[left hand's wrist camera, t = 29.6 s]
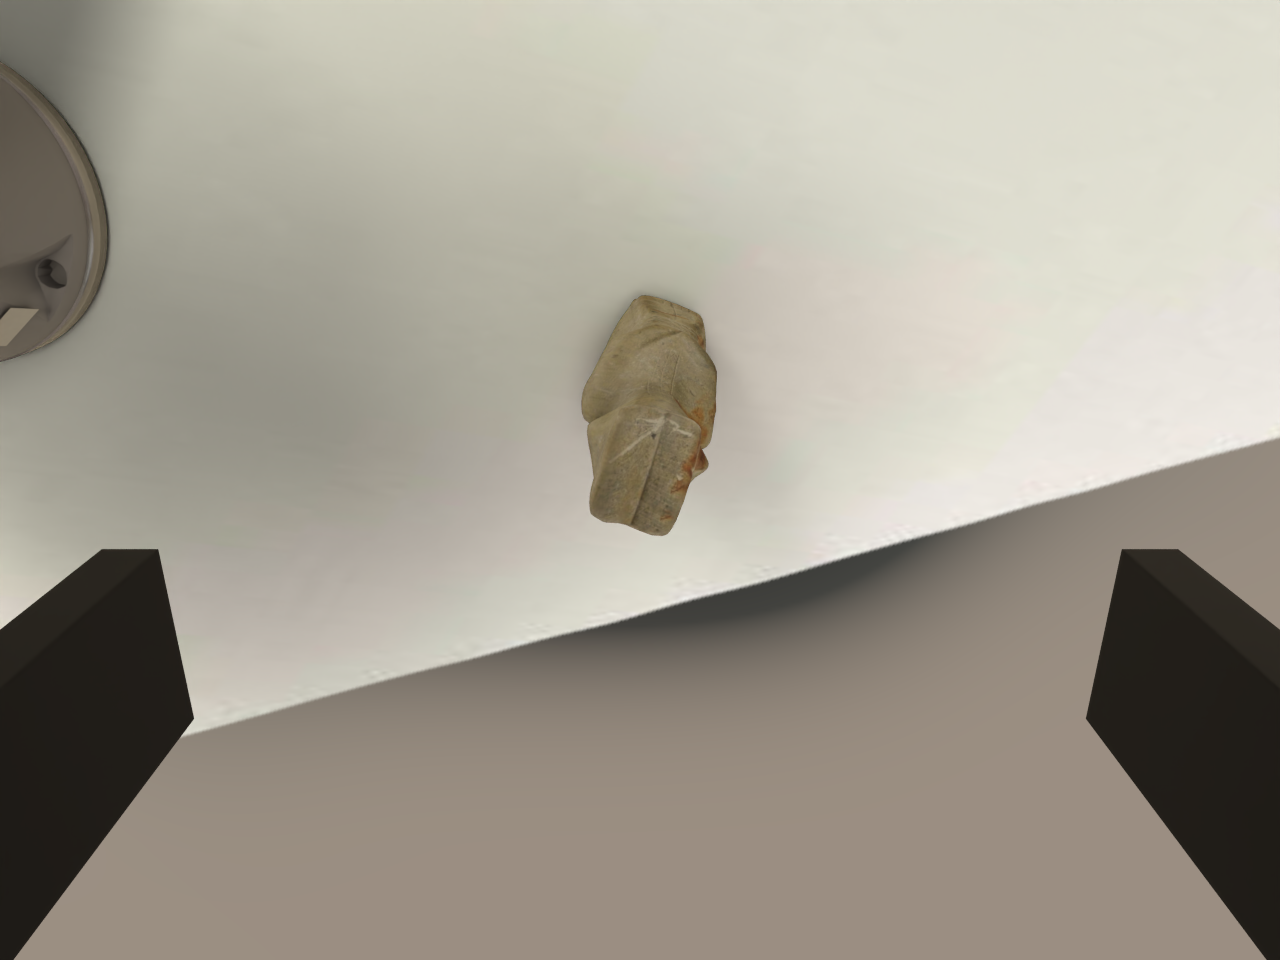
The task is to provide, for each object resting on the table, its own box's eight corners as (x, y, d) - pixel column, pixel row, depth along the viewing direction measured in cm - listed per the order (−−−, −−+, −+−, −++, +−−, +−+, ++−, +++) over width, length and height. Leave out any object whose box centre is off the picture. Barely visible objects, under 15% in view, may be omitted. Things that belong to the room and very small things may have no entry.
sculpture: (570, 400, 48) (542, 514, 34) (621, 272, 46) (612, 337, 32) (672, 440, 49) (685, 566, 35) (727, 315, 47) (764, 398, 33)
